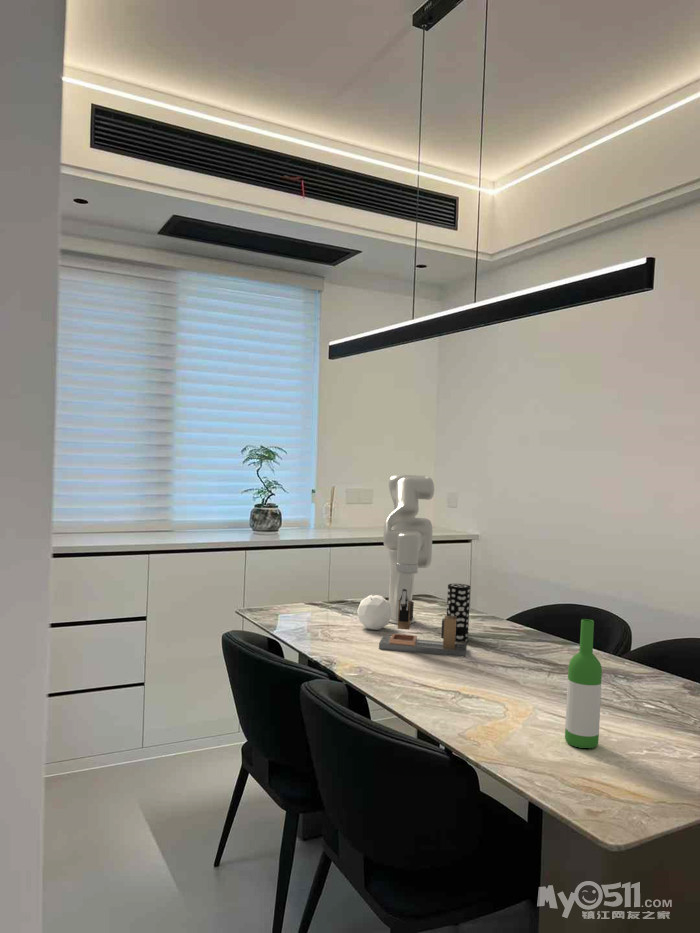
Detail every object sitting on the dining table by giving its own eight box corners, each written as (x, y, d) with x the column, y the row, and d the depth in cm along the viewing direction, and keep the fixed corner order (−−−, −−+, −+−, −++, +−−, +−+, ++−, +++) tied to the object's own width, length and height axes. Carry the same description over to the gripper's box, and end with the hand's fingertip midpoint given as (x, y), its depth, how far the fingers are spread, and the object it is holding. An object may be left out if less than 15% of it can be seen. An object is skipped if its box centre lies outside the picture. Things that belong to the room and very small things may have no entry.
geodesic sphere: (389, 621, 266) (392, 588, 274) (352, 618, 268) (357, 585, 276) (391, 637, 277) (394, 605, 285) (356, 634, 280) (360, 602, 288)
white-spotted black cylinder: (461, 643, 262) (463, 588, 262) (441, 638, 267) (443, 585, 267) (471, 638, 268) (474, 585, 268) (452, 634, 274) (454, 582, 273)
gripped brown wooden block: (397, 628, 250) (398, 600, 250) (399, 625, 255) (400, 597, 255) (411, 629, 249) (412, 601, 249) (412, 626, 254) (413, 598, 254)
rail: (382, 641, 259) (384, 608, 258) (466, 649, 253) (468, 615, 253) (378, 648, 249) (380, 614, 249) (465, 657, 243) (467, 622, 243)
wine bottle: (591, 738, 176) (597, 617, 176) (603, 751, 168) (609, 624, 168) (560, 737, 176) (566, 616, 175) (570, 750, 168) (577, 623, 168)
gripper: (399, 564, 261) (396, 613, 261) (393, 570, 244) (391, 624, 244) (419, 565, 259) (417, 615, 260) (415, 572, 243) (412, 625, 243)
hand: (404, 619), depth 252 cm, fingers closed on gripped brown wooden block, 5 cm apart
